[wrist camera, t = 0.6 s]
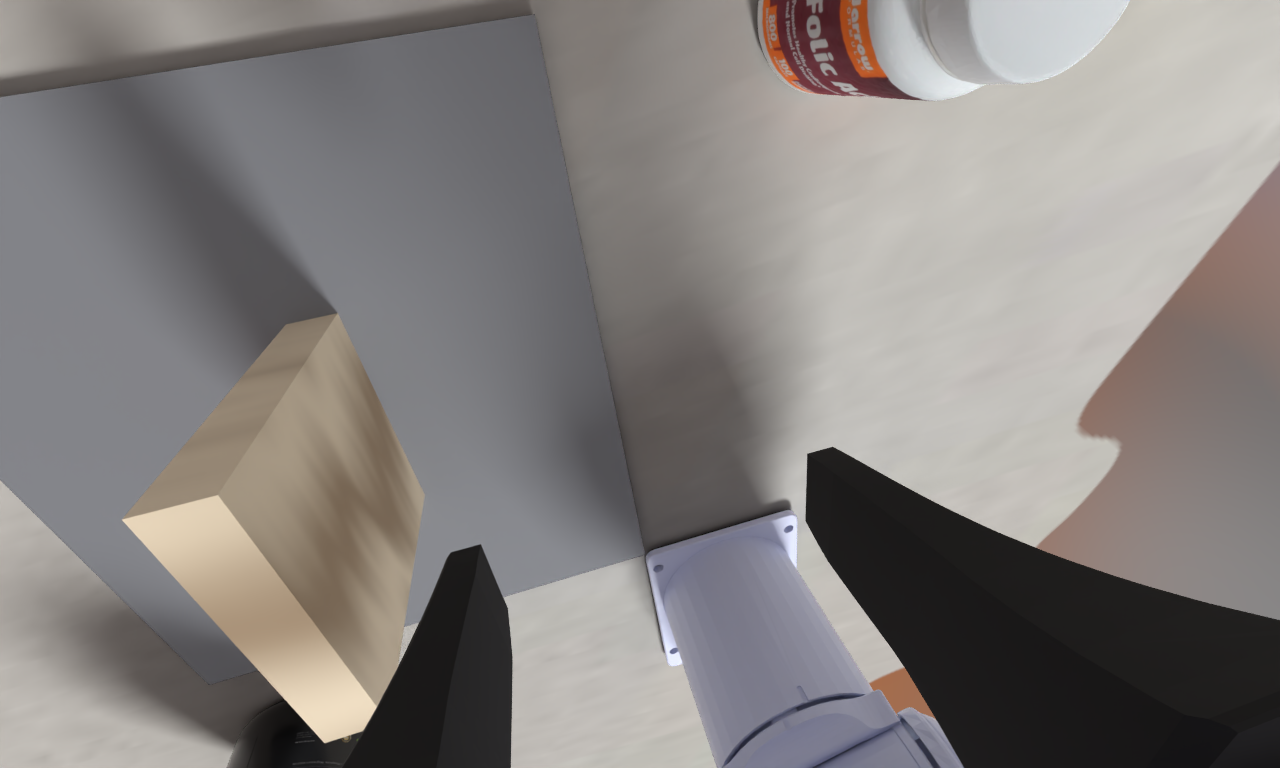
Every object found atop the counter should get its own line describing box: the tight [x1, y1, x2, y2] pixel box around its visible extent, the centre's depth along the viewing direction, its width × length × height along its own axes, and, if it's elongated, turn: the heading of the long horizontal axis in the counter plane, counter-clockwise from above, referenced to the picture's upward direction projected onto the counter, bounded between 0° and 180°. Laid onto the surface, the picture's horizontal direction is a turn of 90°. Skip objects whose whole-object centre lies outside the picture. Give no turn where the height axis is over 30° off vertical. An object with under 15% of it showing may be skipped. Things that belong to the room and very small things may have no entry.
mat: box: [0, 14, 645, 685], centre depth 19 cm, size 22×20×1 cm
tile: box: [122, 313, 425, 743], centre depth 15 cm, size 8×2×9 cm, turn 9°
